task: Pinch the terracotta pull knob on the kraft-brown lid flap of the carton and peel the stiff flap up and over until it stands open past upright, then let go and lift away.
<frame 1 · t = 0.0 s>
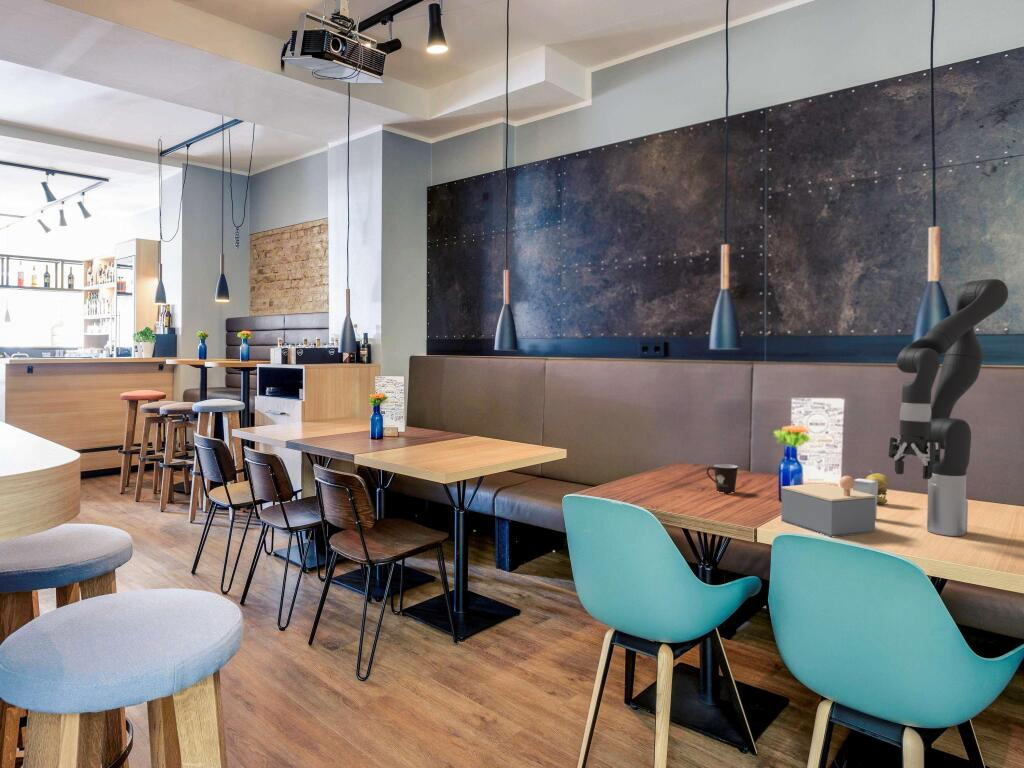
hand: (912, 476, 186), 17 cm above the table, tool pointing down, fingers open, 8 cm apart
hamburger: (875, 504, 228), on the table
skincare box: (864, 518, 208), on the table
carton flap: (827, 482, 198), point 13 cm above the table, hinge at 0.0°
carton: (826, 526, 198), on the table
coffee mug: (723, 492, 250), on the table
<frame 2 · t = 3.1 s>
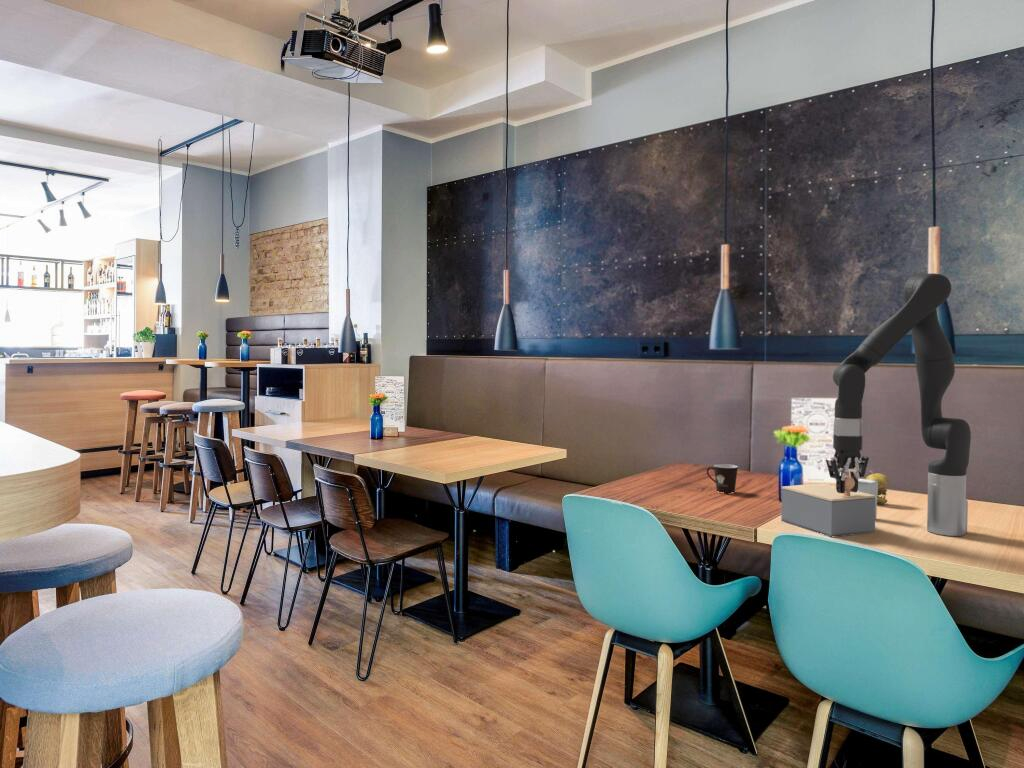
hand: (846, 492, 191), 12 cm above the table, tool pointing down, fingers closed on carton flap, 4 cm apart
carton flap: (827, 482, 198), point 13 cm above the table, hinge at 0.0°, touching gripper
everything else where it was.
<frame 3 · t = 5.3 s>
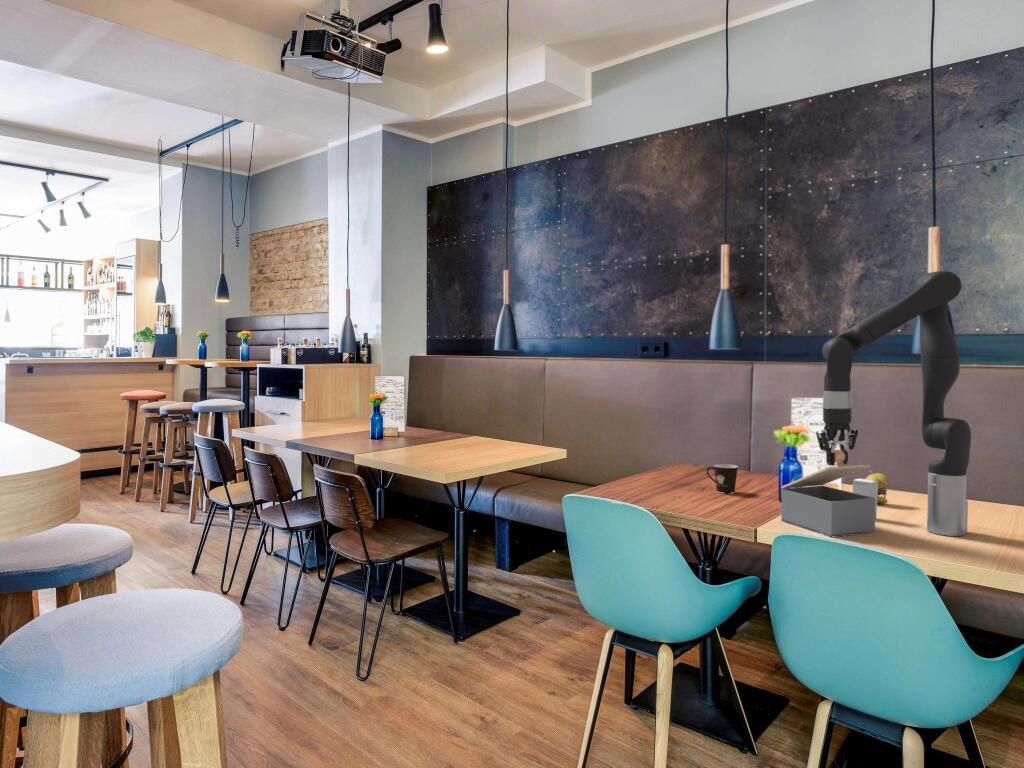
hand: (837, 464, 194), 19 cm above the table, tool pointing down, fingers closed on carton flap, 4 cm apart
carton flap: (821, 467, 200), point 17 cm above the table, hinge at 25.9°, touching gripper
everything else where it was.
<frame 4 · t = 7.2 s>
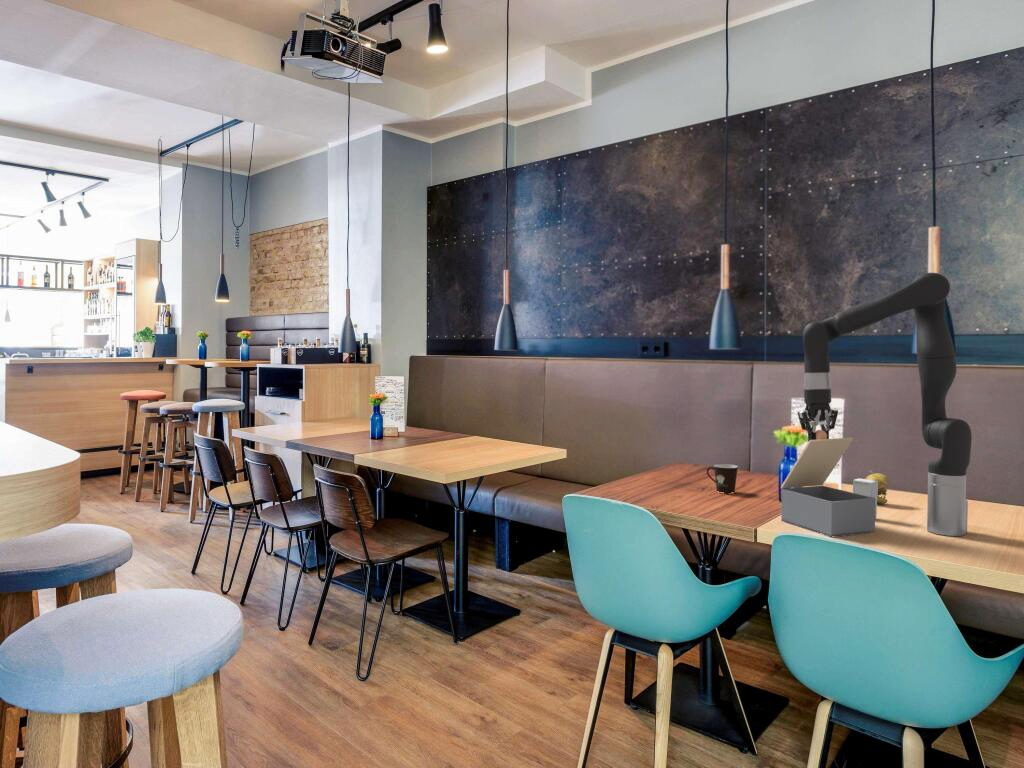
hand: (818, 443, 201), 25 cm above the table, tool pointing down, fingers closed on carton flap, 4 cm apart
carton flap: (810, 456, 204), point 20 cm above the table, hinge at 53.8°, touching gripper
everything else where it was.
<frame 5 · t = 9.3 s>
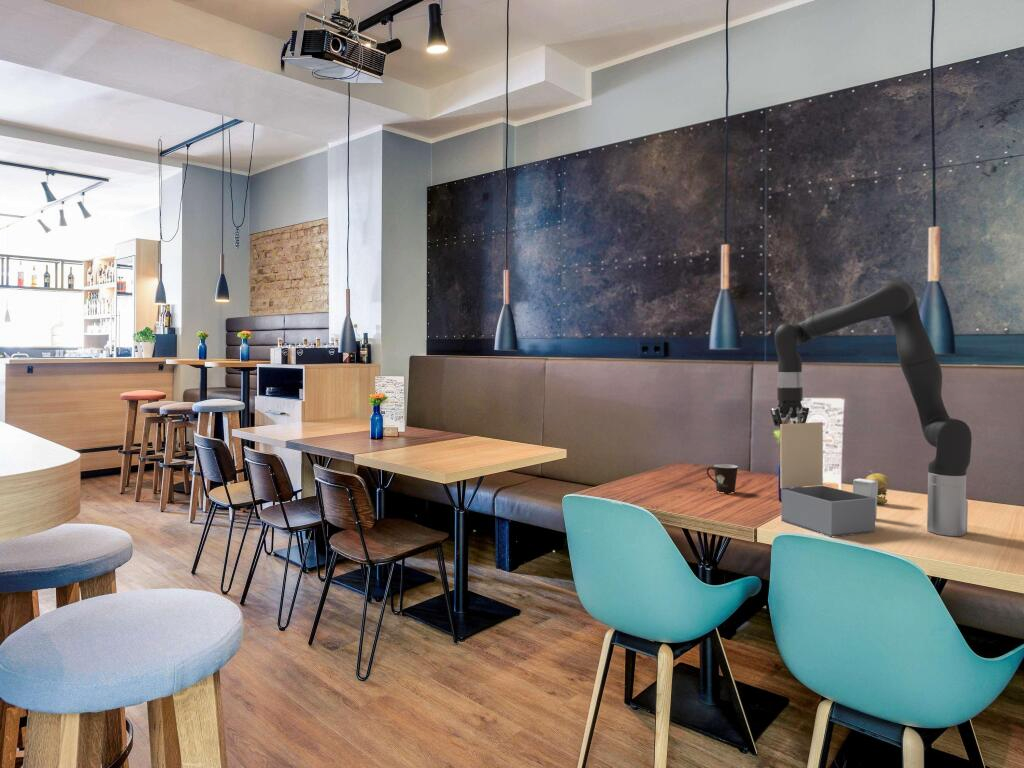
hand: (789, 439, 212), 25 cm above the table, tool pointing down, fingers closed on carton flap, 4 cm apart
carton flap: (795, 453, 210), point 20 cm above the table, hinge at 91.0°, touching gripper
everything else where it was.
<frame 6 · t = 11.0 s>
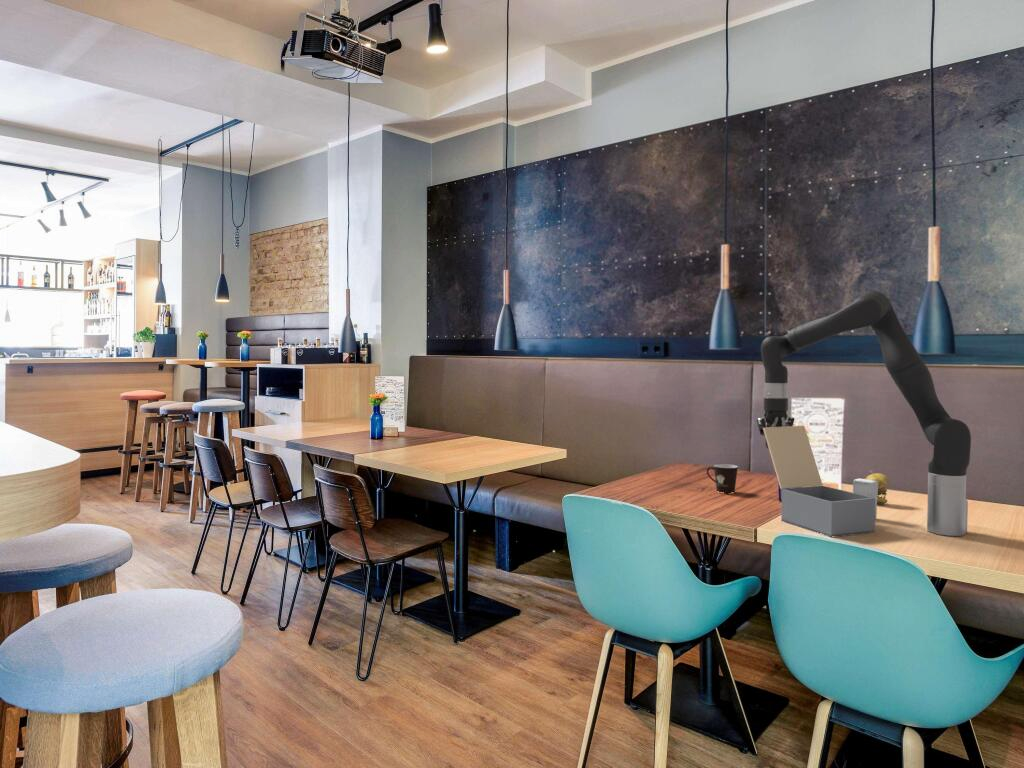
hand: (775, 447, 219), 21 cm above the table, tool pointing down, fingers closed on carton flap, 4 cm apart
carton flap: (786, 458, 214), point 18 cm above the table, hinge at 114.5°, touching gripper
everything else where it was.
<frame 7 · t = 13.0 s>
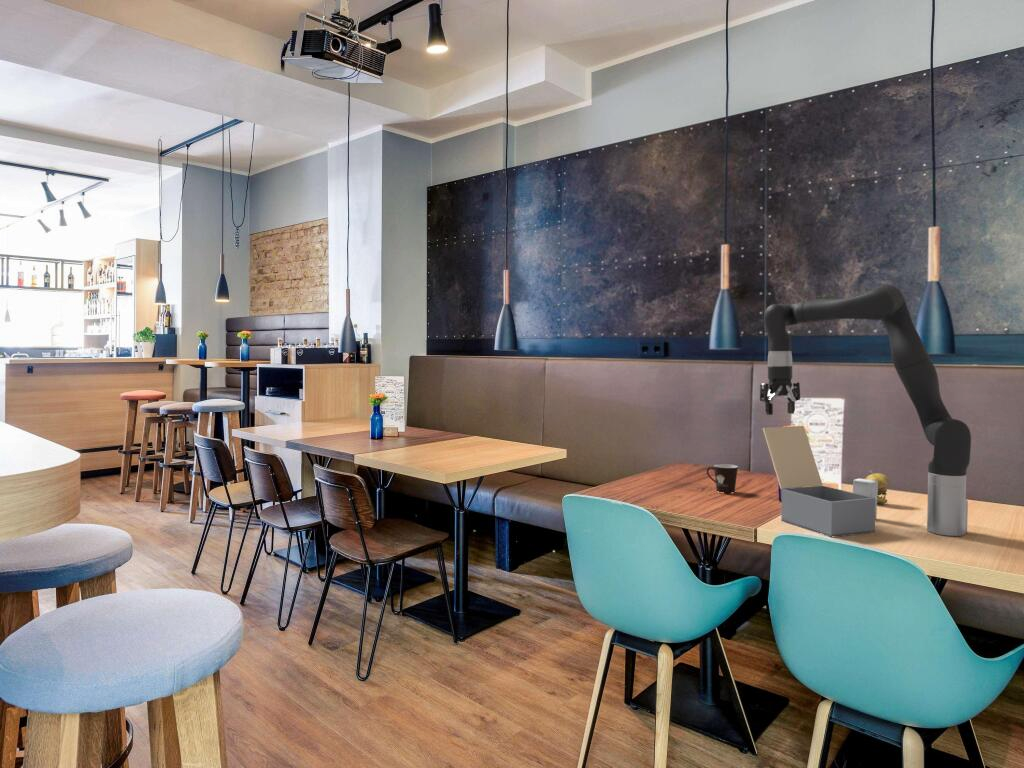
hand: (780, 414, 218), 32 cm above the table, tool pointing down, fingers open, 8 cm apart
carton flap: (786, 459, 214), point 18 cm above the table, hinge at 115.1°
everything else where it was.
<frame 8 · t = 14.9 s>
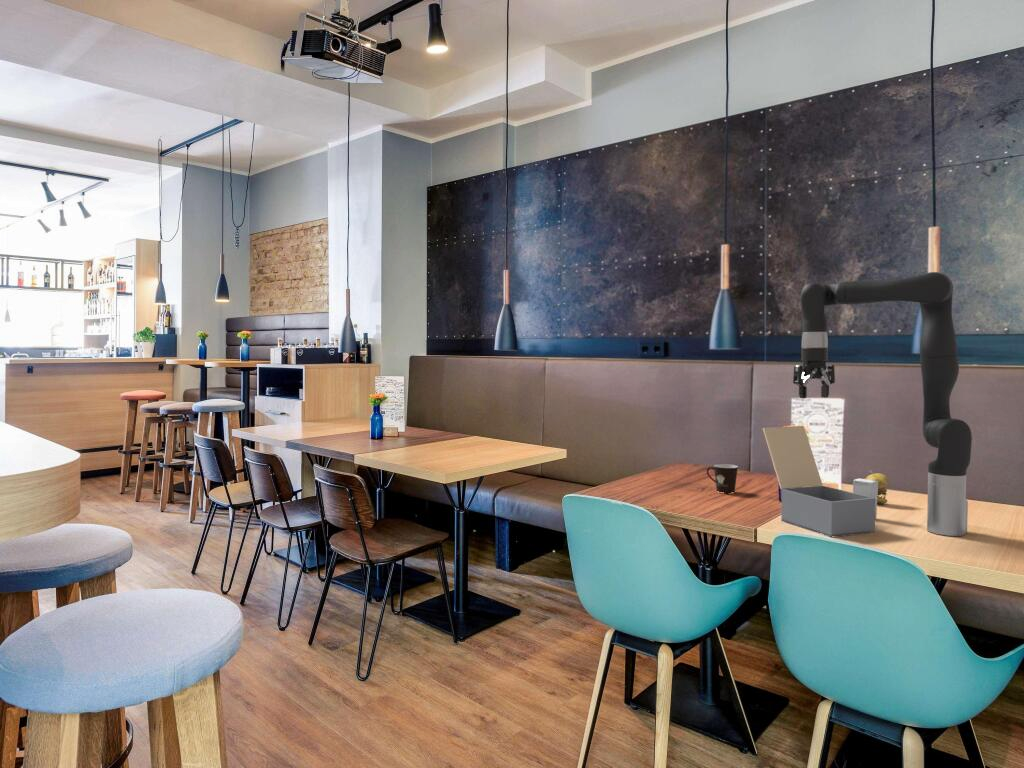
hand: (813, 397, 209), 38 cm above the table, tool pointing down, fingers open, 8 cm apart
nothing on the table moved.
at the end: carton flap at +115° (first picture: +0°); the gripper is holding nothing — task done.
